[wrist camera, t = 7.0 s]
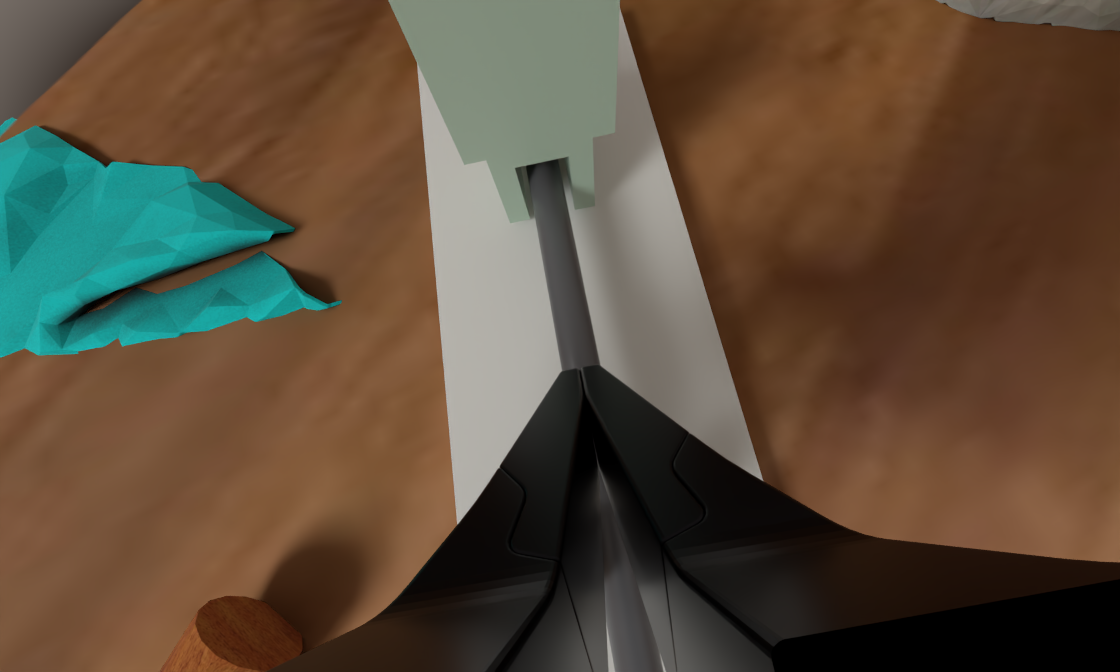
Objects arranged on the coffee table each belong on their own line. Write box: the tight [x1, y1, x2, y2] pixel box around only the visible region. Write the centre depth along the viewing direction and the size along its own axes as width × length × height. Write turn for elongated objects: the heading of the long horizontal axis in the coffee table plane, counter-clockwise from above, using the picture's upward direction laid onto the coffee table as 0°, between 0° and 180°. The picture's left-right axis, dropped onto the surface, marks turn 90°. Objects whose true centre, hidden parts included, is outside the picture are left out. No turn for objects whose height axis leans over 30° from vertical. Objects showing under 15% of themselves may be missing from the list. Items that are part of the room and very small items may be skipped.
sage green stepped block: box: [388, 0, 620, 223], centre depth 13 cm, size 4×5×10 cm
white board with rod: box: [417, 10, 763, 672], centre depth 14 cm, size 30×10×5 cm, turn 10°
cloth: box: [0, 118, 342, 357], centre depth 20 cm, size 26×14×2 cm, turn 55°
